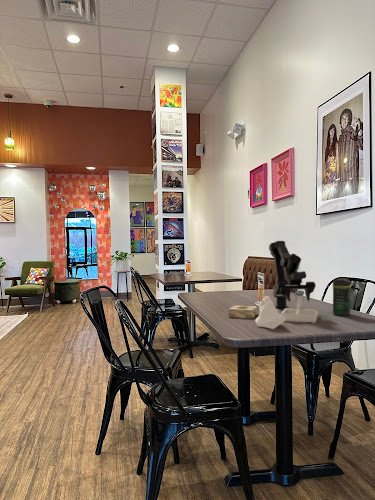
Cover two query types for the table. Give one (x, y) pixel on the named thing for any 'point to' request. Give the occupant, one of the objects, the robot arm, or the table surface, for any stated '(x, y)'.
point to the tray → (300, 315)
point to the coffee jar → (341, 296)
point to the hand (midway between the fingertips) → (299, 300)
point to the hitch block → (243, 311)
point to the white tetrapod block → (269, 315)
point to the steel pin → (299, 302)
